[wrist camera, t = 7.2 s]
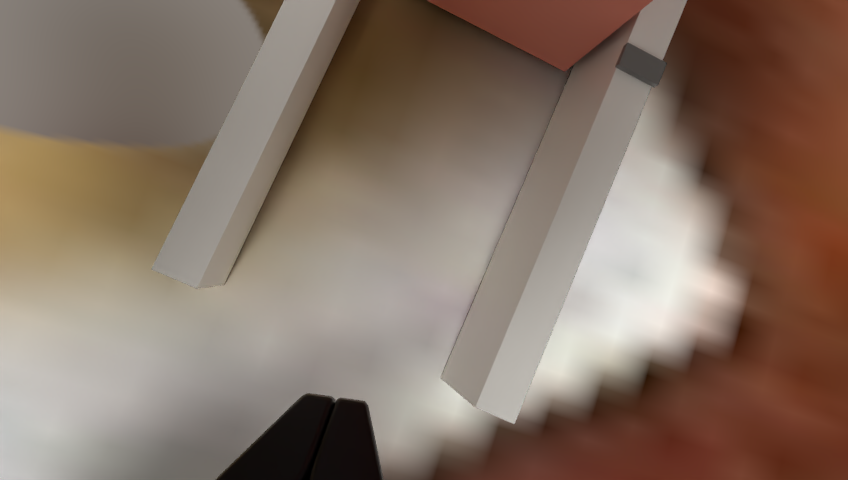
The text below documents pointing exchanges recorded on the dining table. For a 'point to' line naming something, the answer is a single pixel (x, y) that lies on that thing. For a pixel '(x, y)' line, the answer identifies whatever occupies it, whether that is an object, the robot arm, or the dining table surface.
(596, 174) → the plug guide
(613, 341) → the dining table surface
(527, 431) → the dining table surface
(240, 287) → the dining table surface
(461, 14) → the plug
